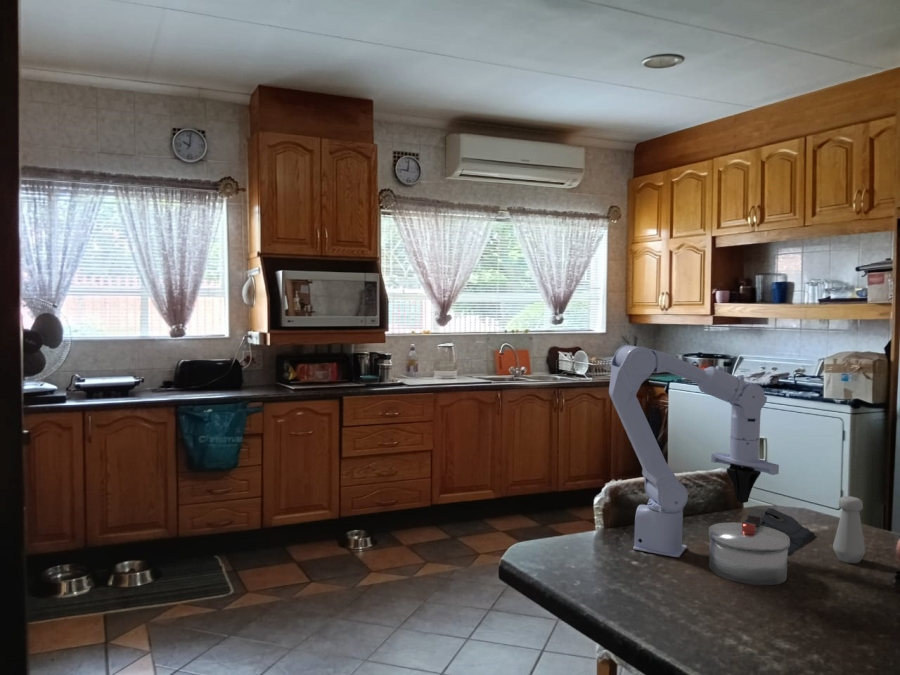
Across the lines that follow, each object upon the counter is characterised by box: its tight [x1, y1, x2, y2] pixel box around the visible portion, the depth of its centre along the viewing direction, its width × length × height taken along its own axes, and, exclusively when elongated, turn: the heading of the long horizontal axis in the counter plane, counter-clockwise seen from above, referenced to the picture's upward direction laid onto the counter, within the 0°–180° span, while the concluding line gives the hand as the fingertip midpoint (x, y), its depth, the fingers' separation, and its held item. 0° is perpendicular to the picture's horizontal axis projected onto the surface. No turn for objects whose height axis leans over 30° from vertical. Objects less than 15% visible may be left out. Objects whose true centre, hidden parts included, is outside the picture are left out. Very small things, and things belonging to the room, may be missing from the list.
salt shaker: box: [832, 495, 866, 564], centre depth 148 cm, size 6×6×13 cm
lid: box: [708, 507, 790, 552], centre depth 142 cm, size 20×15×3 cm
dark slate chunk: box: [742, 507, 816, 556], centre depth 162 cm, size 15×22×5 cm
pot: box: [708, 538, 789, 586], centre depth 142 cm, size 20×14×6 cm
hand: (742, 501), depth 152 cm, fingers closed
